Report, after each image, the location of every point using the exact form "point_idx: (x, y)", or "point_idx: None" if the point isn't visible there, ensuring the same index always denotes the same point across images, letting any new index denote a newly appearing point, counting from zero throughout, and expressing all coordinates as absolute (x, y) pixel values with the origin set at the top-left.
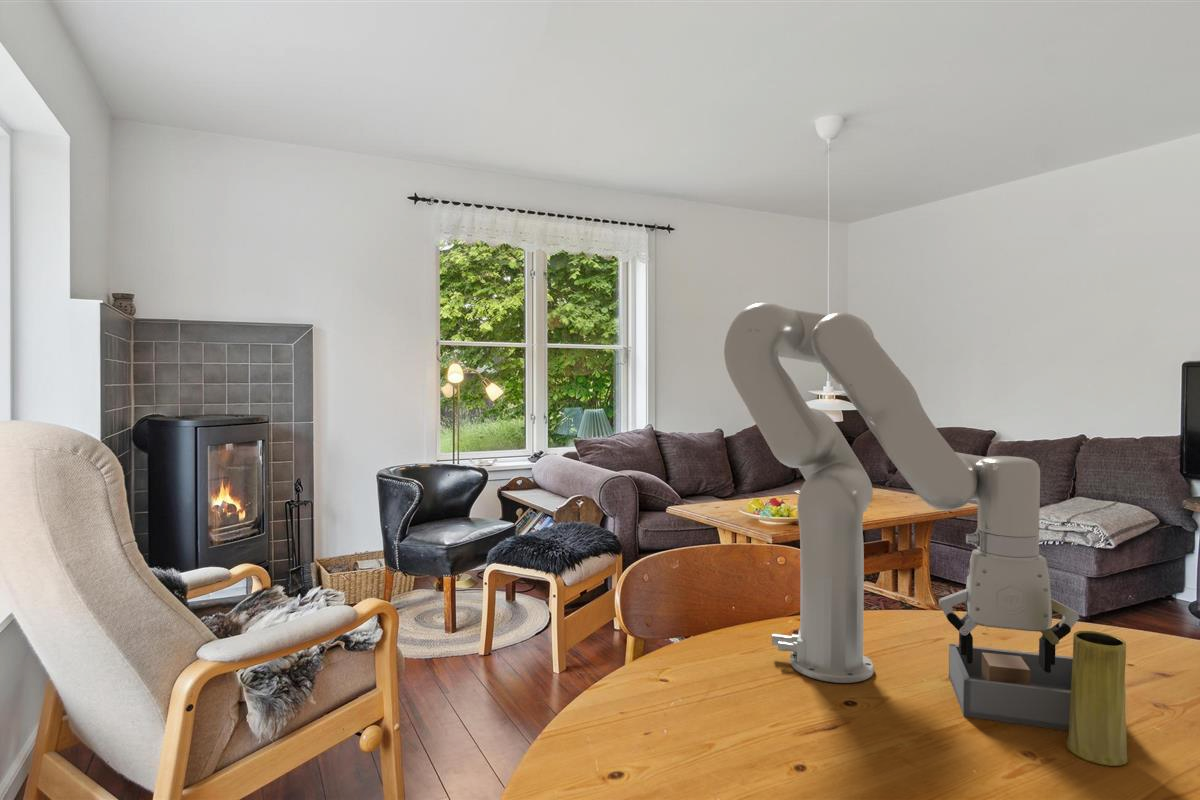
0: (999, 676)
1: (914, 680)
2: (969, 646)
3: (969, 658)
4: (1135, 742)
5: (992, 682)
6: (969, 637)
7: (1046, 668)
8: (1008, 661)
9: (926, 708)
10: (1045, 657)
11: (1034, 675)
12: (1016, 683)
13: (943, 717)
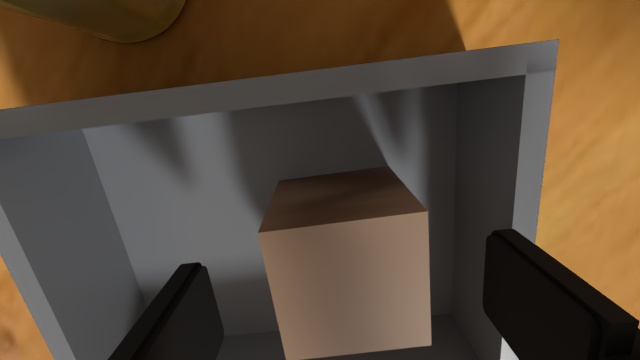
0: (376, 199)
1: (559, 252)
2: (562, 275)
3: (515, 237)
4: (28, 97)
5: (429, 67)
6: (619, 315)
7: (192, 272)
8: (338, 292)
9: (571, 68)
10: (174, 307)
11: (253, 350)
12: (314, 199)
13: (532, 20)
